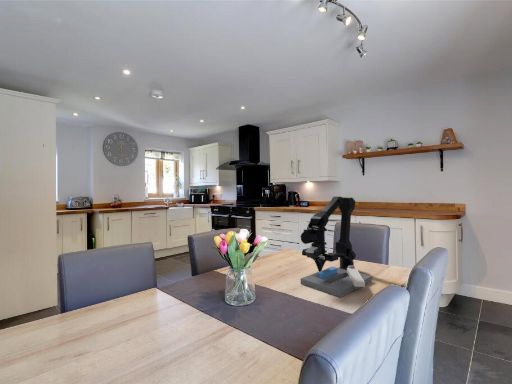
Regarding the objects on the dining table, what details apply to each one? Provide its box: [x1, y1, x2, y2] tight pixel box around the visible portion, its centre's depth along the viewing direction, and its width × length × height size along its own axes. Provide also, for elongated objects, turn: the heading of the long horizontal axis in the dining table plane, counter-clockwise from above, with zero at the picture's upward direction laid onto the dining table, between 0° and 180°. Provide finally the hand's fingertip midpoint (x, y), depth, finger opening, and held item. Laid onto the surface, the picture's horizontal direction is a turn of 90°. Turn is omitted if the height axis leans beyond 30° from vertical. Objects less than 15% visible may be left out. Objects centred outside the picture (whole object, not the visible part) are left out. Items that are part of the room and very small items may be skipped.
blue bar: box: [318, 266, 338, 279], centre depth 134 cm, size 2×12×2 cm, turn 130°
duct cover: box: [347, 265, 366, 288], centre depth 128 cm, size 22×4×3 cm, turn 170°
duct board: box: [300, 266, 373, 298], centre depth 130 cm, size 22×26×2 cm
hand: (319, 271), depth 137 cm, fingers closed
